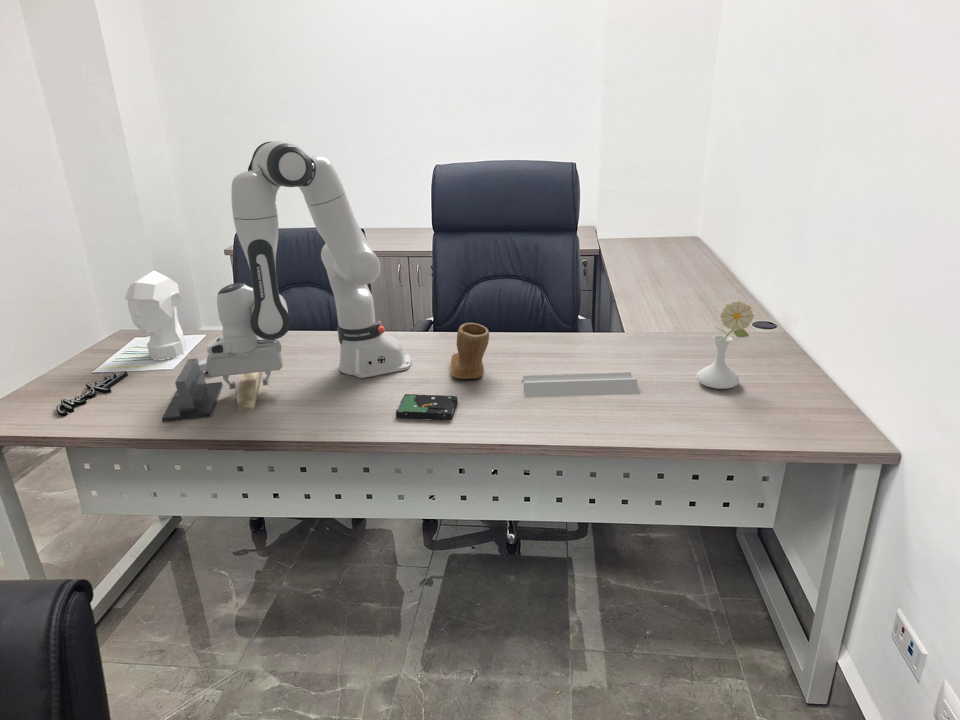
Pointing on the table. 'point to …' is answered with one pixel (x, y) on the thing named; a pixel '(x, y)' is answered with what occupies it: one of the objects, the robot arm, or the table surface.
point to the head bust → (157, 314)
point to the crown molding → (580, 384)
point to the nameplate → (90, 393)
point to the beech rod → (248, 390)
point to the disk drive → (427, 407)
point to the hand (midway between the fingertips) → (249, 386)
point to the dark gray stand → (192, 395)
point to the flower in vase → (719, 372)
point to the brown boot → (469, 351)
